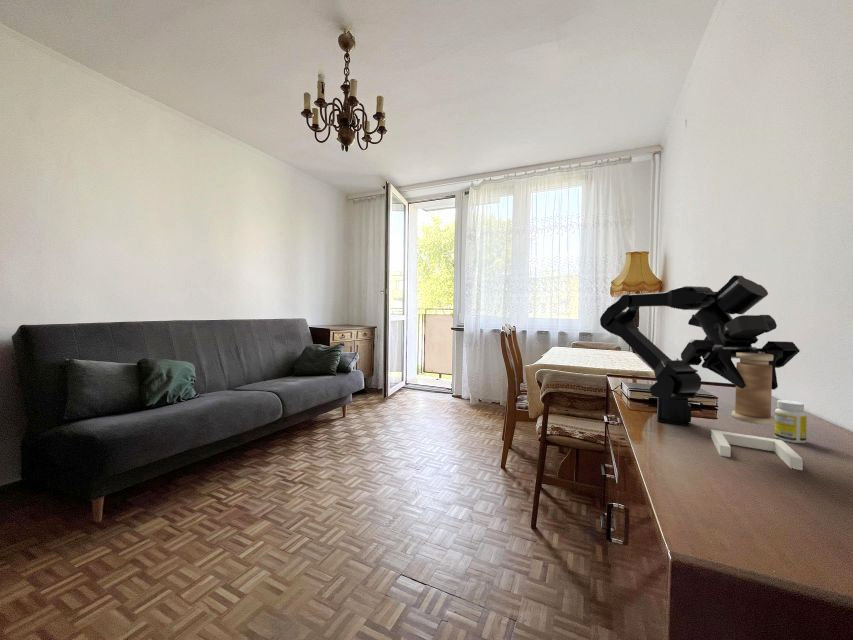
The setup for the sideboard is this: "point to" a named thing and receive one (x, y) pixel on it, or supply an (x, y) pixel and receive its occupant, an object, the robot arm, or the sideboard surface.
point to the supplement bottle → (790, 421)
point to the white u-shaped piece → (756, 446)
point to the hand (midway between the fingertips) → (759, 387)
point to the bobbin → (754, 389)
